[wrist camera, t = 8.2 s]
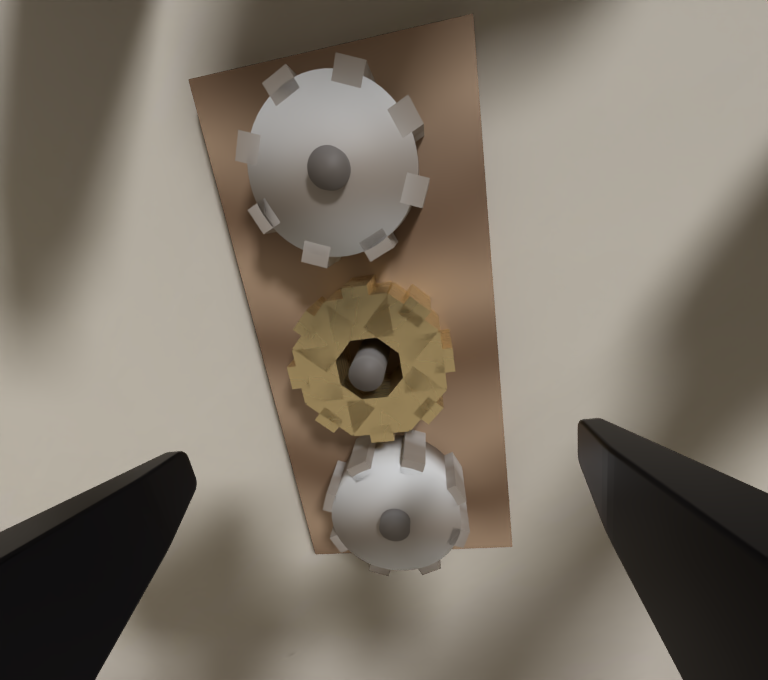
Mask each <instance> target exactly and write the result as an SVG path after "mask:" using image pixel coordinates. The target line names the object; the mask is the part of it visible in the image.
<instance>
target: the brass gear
mask: <svg viewBox="0 0 768 680" xmlns="http://www.w3.org/2000/svg"><path fill="white" fill-rule="evenodd" d="M293 330H294V331H295V332H297V333H298V334H299V335H301V337H300V338H299V340H298V341H297V343H296V344H295V346H294V347H293V348H292V349H293V350H292V352H293V356H294V360H293V361H292V362H291V363H290V364H289V365H288V367H287V370H288V374H289V378H290V382H291V386H292V389H299V388H301V389H302V393H303V397H304V401H305V403H307V404H306V405H308V406H309V407H311V408H312V409H313V410H315V411H316V412H318V415H317V417H316V419H315V421H317V422H318V423H320V424H321V425H323V426H324V427H326V428H327V429H329V430H330V431H332V432H333V433H334V432H335V431H336V430H337V429H338V427H340V428H342V429H343V430H345V431H346V432H348V433H349V434H350V435H352V436H353V434H354V436H362V435H370V438H371V443H376V442H388V441H394V440H395V433H396V432H408V431H409V430H412V429H413V428H414V426H415V425H416V424H417V423H418V422H419V421H420V420H423V421H424V422H426V423H427V424H428V425H429V424H430V422H431V421H432V420H433V419H434V418H435V417H436V416H437V415H438V414H439V412H440V411H441V410H442V409H443V408H444V407H443V394H444V393H445V392H446V390H447V382H446V373H447V372H455V364H454V356H453V347H452V342H451V336H450V331H449V329H445V330H440V324H439V316H438V314H437V313H436V312H435V311H433V310H432V309H431V298H430V296H428V295H427V294H426V293H424V292H423V291H421V290H420V289H419V288H417V287H416V286H415V285H413V284H412V285H411V286H410V287H409V288H408V290H407V291H406V290H405V289H403V288H402V287H401V286H399V285H398V284H397V283H395V282H393V283H392V281H388V282H381V283H376V278H375V274H373V275H366V276H359V277H353V278H352V279H350V280H349V281H348V282H347V283H346V284H345V285H344V286H343V287H342V288H340V289H338V290H337V291H335V292H334V293H333V294H332V295H331V296H330V297H329V298H328V299H327V300H326V299H325V298H323V297H321V298H320V299H318V300H317V301H316V302H315V303H314V304H313V305H312V306H310V307H309V308H308V309H307V310H306V311H305V312H304V314H303V315H302V317H301V318H300V320H299V321H298V323H297V324H296V326H295V327H294V329H293ZM369 338H378V339H380V340H381V341H382V342H384V343H385V344H387V345H388V346H389V347H391V348H392V349H394V350H395V351H396V352H398V353H399V357H400V364H399V365H398V366H397V368H396V369H395V370H394V371H393V373H385V375H384V379H383V382H382V384H381V385H380V386H379V387H378V388H377V389H375V390H373V391H361V390H359V389H357V388H355V387H354V386H353V385H352V383H351V382H350V380H349V376H348V373H349V368H350V366H351V364H352V362H351V357H350V352H349V347H348V343H349V342H350V341H353V340H361V339H369Z"/></svg>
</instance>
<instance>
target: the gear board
mask: <svg viewBox="0 0 768 680" xmlns="http://www.w3.org/2000/svg"><path fill="white" fill-rule="evenodd" d="M189 83H190V87H191V91H192V95H193V98H194V102H195V106H196V109H197V113H198V117H199V121H200V124H201V128H202V132H203V136H204V139H205V143H206V147H207V151H208V154H209V158H210V162H211V165H212V169H213V173H214V177H215V180H216V184H217V188H218V192H219V195H220V199H221V203H222V207H223V210H224V214H225V218H226V221H227V225H228V229H229V233H230V236H231V240H232V244H233V248H234V251H235V255H236V259H237V263H238V266H239V270H240V274H241V277H242V281H243V285H244V289H245V292H246V296H247V300H248V304H249V307H250V311H251V315H252V319H253V322H254V326H255V330H256V333H257V337H258V341H259V345H260V348H261V352H262V356H263V360H264V363H265V367H266V371H267V375H268V378H269V382H270V386H271V389H272V393H273V397H274V401H275V404H276V408H277V412H278V416H279V419H280V423H281V427H282V431H283V434H284V438H285V442H286V445H287V449H288V453H289V457H290V460H291V464H292V468H293V472H294V475H295V479H296V483H297V487H298V490H299V494H300V498H301V501H302V505H303V509H304V513H305V516H306V520H307V524H308V528H309V531H310V535H311V539H312V543H313V546H314V550H315V554H335V553H353V554H354V555H355V556H357V557H358V558H360V559H362V560H363V561H365V562H367V563H369V564H370V566H369V571H372V572H375V573H379V574H383V575H386V576H389V573H390V570H414V569H419V571H420V572H421V574H422V575H424V574H427V573H430V572H432V571H435V570H438V569H441V562H440V559H442V558H443V557H444V556H445V555H447V554H448V553H449V552H450V550H451V549H465V548H491V547H512V536H511V522H510V509H509V495H508V481H507V468H506V454H505V441H504V427H503V413H502V400H501V386H500V373H499V359H498V345H497V332H496V318H495V305H494V291H493V277H492V264H491V250H490V237H489V223H488V209H487V196H486V182H485V169H484V155H483V141H482V128H481V114H480V101H479V87H478V74H477V60H476V46H475V33H474V19H473V14H469V15H464V16H460V17H456V18H451V19H447V20H443V21H438V22H434V23H430V24H426V25H421V26H417V27H413V28H408V29H404V30H400V31H395V32H391V33H387V34H382V35H378V36H374V37H370V38H365V39H361V40H357V41H352V42H348V43H344V44H339V45H335V46H331V47H326V48H322V49H318V50H313V51H309V52H305V53H301V54H296V55H292V56H288V57H283V58H279V59H275V60H270V61H266V62H262V63H257V64H253V65H249V66H245V67H240V68H236V69H232V70H227V71H223V72H219V73H214V74H210V75H206V76H201V77H197V78H193V79H189ZM373 274H375V278H376V283H381V282H388V281H392V283H393V282H395V283H397V284H398V285H399V286H401V287H402V288H403V289H405V290H406V291H407V290H408V288H409V287H410V286H411V285H412V284H413V285H415V286H416V287H417V288H419V289H420V290H421V291H423V292H424V293H426V294H427V295H428V296H430V298H431V309H432V310H433V311H435V312H436V313H437V314H438V316H439V324H440V330H445V329H449V331H450V336H451V342H452V347H453V356H454V364H455V372H447V373H446V382H447V390H446V392H445V393H444V394H443V407H444V408H443V409H442V410H441V411H440V412H439V414H438V415H437V416H436V417H435V418H434V419H433V420H432V421H431V422H430V424H429V425H428V424H427V423H426V422H424V421H423V420H420V421H419V422H418V423H417V424H416V425H415V426H414V428H413V429H412V430H409V431H408V432H396V433H395V440H394V441H388V442H376V443H371V438H370V435H362V436H354V434H353V436H352V435H350V434H349V433H348V432H346V431H345V430H343V429H342V428H340V427H338V429H337V430H336V431H335V432H334V433H333V432H332V431H330V430H329V429H327V428H326V427H324V426H323V425H321V424H320V423H318V422H317V421H315V419H316V417H317V415H318V412H316V411H315V410H313V409H312V408H311V407H309V406H308V405H306V404H307V403H305V401H304V397H303V393H302V389H301V388H299V389H292V386H291V382H290V378H289V374H288V370H287V367H288V365H289V364H290V363H291V362H292V361H293V360H294V356H293V352H292V350H293V349H292V348H293V347H294V346H295V344H296V343H297V341H298V340H299V338H300V337H301V335H299V334H298V333H297V332H295V331H294V330H293V329H294V327H295V326H296V324H297V323H298V321H299V320H300V318H301V317H302V315H303V314H304V312H305V311H306V310H307V309H308V308H309V307H310V306H312V305H313V304H314V303H315V302H316V301H317V300H318V299H320V298H321V297H323V298H325V299H326V300H327V299H328V298H329V297H330V296H331V295H332V294H333V293H334V292H335V291H337V290H338V289H340V288H342V287H343V286H344V285H345V284H346V283H347V282H348V281H349V280H350V279H352V278H353V277H359V276H366V275H373ZM348 347H349V352H350V357H351V362H352V364H351V366H350V368H349V373H348V376H349V380H350V382H351V383H352V385H353V386H354V387H355V388H357V389H359V390H361V391H373V390H375V389H377V388H378V387H379V386H380V385H381V384H382V382H383V379H384V375H385V373H393V371H394V370H395V369H396V368H397V366H398V365H399V364H400V357H399V353H398V352H396V351H395V350H394V349H392V348H391V347H389V346H388V345H387V344H385V343H384V342H382V341H381V340H380V339H378V338H369V339H361V340H353V341H350V342H349V343H348Z"/></svg>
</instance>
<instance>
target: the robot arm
mask: <svg viewBox="0 0 768 680" xmlns="http://www.w3.org/2000/svg"><path fill="white" fill-rule="evenodd" d="M578 459H579V463H580V466H581V469H582V472H583V474H584V477H585V479H586V482H587V485H588V487H589V490H590V492H591V495H592V497H593V500H594V503H595V505H596V508H597V510H598V513H599V516H600V518H601V521H602V523H603V526H604V528H605V531H606V533H607V535H608V537H609V539H610V541H611V543H612V545H613V547H614V549H615V551H616V553H617V555H618V557H619V559H620V560H621V562H622V564H623V566H624V568H625V570H626V572H627V574H628V576H629V578H630V580H631V581H632V583H633V585H634V587H635V589H636V591H637V593H638V595H639V597H640V599H641V601H642V602H643V604H644V606H645V608H646V610H647V612H648V614H649V616H650V618H651V620H652V622H653V623H654V625H655V627H656V629H657V631H658V633H659V635H660V637H661V639H662V641H663V643H664V644H665V646H666V648H667V650H668V652H669V654H670V656H671V658H672V660H673V662H674V664H675V665H676V667H677V669H678V671H679V673H680V675H681V677H682V679H683V680H768V493H766V492H764V491H762V490H759V489H757V488H755V487H753V486H751V485H748V484H746V483H744V482H742V481H739V480H737V479H735V478H733V477H730V476H728V475H726V474H724V473H722V472H719V471H717V470H715V469H713V468H710V467H708V466H706V465H704V464H701V463H699V462H697V461H695V460H693V459H690V458H688V457H686V456H684V455H681V454H679V453H677V452H675V451H672V450H670V449H668V448H666V447H664V446H661V445H659V444H657V443H655V442H652V441H650V440H648V439H646V438H643V437H641V436H639V435H637V434H635V433H632V432H630V431H628V430H626V429H623V428H621V427H619V426H617V425H614V424H612V423H610V422H608V421H606V420H603V419H601V418H593V419H583V420H580V421H579V423H578ZM196 485H197V482H196V477H195V474H194V472H193V469H192V466H191V463H190V461H189V458H188V456H187V454H186V453H185V452H182V451H177V452H167V453H164V454H162V455H160V456H158V457H156V458H154V459H152V460H150V461H148V462H146V463H144V464H142V465H139V466H137V467H135V468H133V469H131V470H129V471H127V472H125V473H123V474H121V475H119V476H116V477H114V478H112V479H110V480H108V481H106V482H104V483H102V484H100V485H98V486H96V487H93V488H91V489H89V490H87V491H85V492H83V493H81V494H79V495H77V496H75V497H73V498H71V499H68V500H66V501H64V502H62V503H60V504H58V505H56V506H54V507H52V508H50V509H48V510H45V511H43V512H41V513H39V514H37V515H35V516H33V517H31V518H29V519H27V520H25V521H22V522H20V523H18V524H16V525H14V526H12V527H10V528H8V529H6V530H4V531H2V532H0V680H95V679H96V677H97V675H98V674H99V672H100V670H101V668H102V666H103V665H104V663H105V661H106V659H107V658H108V656H109V654H110V652H111V651H112V649H113V647H114V645H115V643H116V642H117V640H118V638H119V636H120V635H121V633H122V631H123V629H124V627H125V626H126V624H127V622H128V620H129V619H130V617H131V615H132V613H133V612H134V610H135V608H136V606H137V604H138V603H139V601H140V599H141V597H142V596H143V594H144V592H145V590H146V588H147V587H148V585H149V583H150V581H151V580H152V578H153V576H154V574H155V573H156V571H157V569H158V567H159V565H160V564H161V562H162V560H163V558H164V556H165V555H166V553H167V551H168V549H169V547H170V545H171V543H172V541H173V538H174V536H175V534H176V532H177V530H178V527H179V525H180V523H181V521H182V519H183V516H184V514H185V512H186V510H187V508H188V505H189V503H190V501H191V499H192V497H193V494H194V492H195V490H196Z"/></svg>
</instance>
